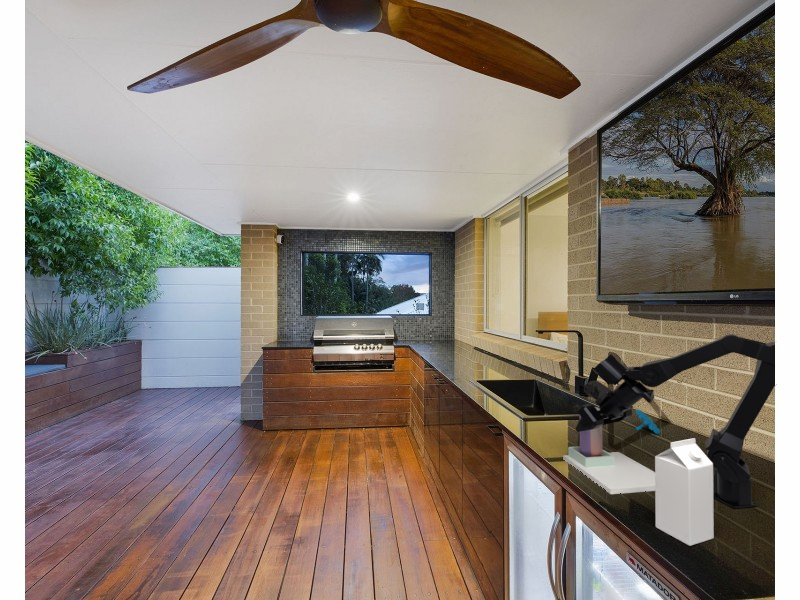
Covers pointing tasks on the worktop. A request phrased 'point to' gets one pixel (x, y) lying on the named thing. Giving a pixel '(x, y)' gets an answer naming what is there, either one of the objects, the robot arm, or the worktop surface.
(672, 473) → the milk carton
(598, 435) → the beverage can
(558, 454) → the worktop surface
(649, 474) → the housing plate
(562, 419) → the worktop surface
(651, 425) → the blue irregular branched piece
